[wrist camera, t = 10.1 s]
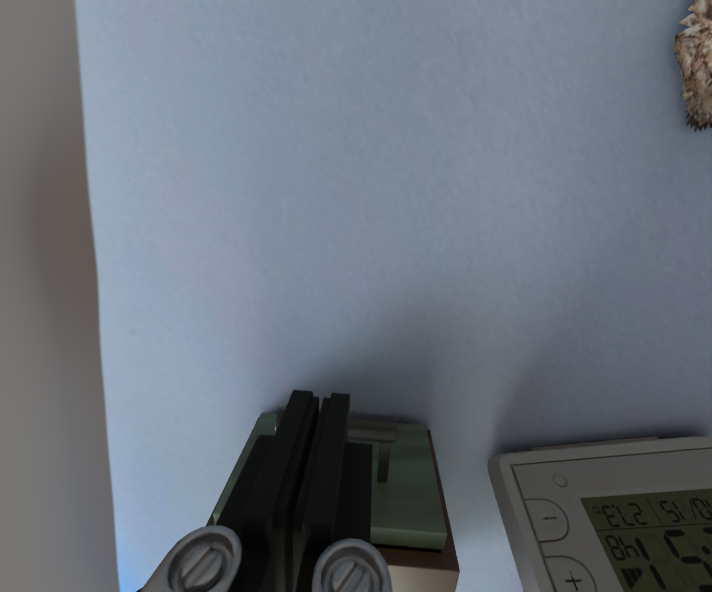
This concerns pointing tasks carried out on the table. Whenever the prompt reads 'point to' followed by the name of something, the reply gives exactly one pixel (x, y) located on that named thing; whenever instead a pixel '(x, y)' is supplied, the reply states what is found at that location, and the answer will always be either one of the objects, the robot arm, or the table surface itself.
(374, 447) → the drawer
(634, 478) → the digital clock
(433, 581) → the cabinet
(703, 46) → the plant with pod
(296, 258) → the table surface
